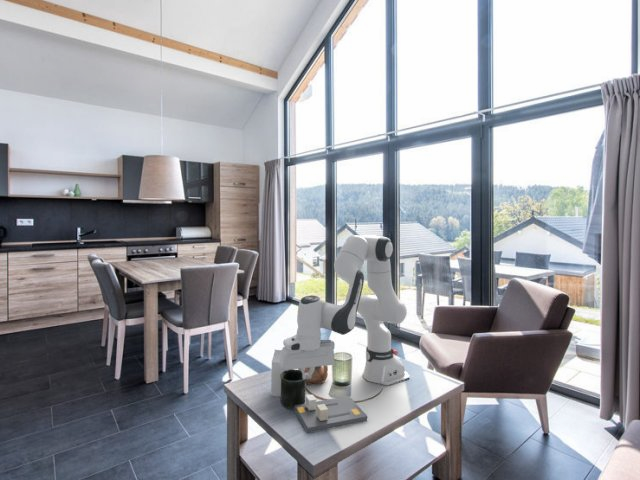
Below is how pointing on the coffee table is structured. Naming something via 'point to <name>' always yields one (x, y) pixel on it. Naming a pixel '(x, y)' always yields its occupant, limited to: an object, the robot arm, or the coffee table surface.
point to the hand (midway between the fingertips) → (306, 378)
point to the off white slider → (310, 402)
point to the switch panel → (331, 414)
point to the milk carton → (276, 374)
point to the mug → (292, 388)
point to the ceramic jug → (317, 374)
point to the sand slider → (322, 412)
